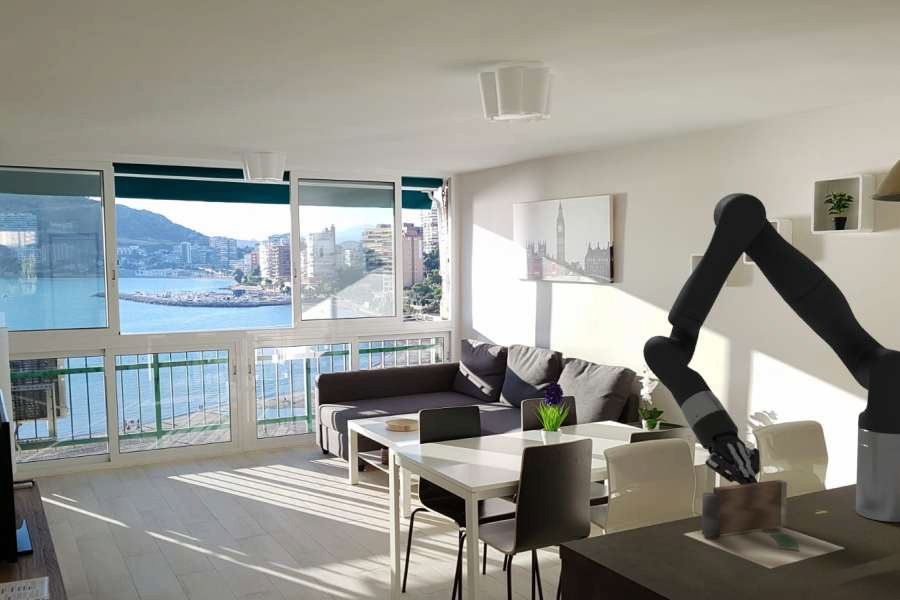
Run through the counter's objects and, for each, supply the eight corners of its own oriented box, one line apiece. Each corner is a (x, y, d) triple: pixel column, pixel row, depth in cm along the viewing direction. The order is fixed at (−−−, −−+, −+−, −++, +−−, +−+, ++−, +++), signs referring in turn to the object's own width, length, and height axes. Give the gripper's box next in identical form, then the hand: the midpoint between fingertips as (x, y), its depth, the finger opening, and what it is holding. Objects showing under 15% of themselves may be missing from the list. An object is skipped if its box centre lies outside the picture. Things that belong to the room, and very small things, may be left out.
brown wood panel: (775, 521, 142) (776, 478, 141) (788, 526, 139) (789, 483, 139) (698, 532, 135) (699, 487, 135) (709, 538, 132) (710, 492, 132)
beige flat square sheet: (755, 526, 145) (755, 517, 145) (844, 556, 130) (844, 546, 130) (683, 542, 136) (683, 532, 136) (770, 577, 120) (770, 567, 120)
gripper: (695, 411, 144) (746, 492, 134) (743, 405, 151) (795, 483, 141) (673, 433, 149) (721, 513, 139) (721, 427, 156) (770, 503, 145)
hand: (758, 498), depth 140 cm, fingers closed
